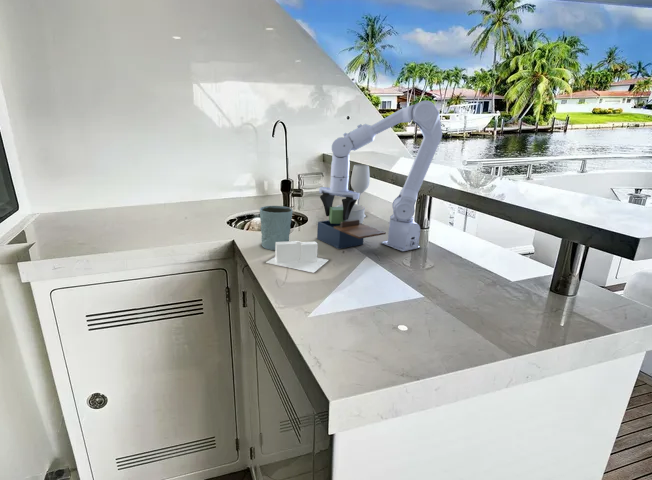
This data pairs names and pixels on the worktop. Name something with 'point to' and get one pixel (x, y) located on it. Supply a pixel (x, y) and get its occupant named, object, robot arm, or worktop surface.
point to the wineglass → (360, 179)
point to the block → (336, 215)
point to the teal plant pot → (275, 225)
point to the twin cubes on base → (297, 256)
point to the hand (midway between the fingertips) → (337, 217)
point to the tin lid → (358, 229)
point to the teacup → (356, 213)
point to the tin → (336, 236)
